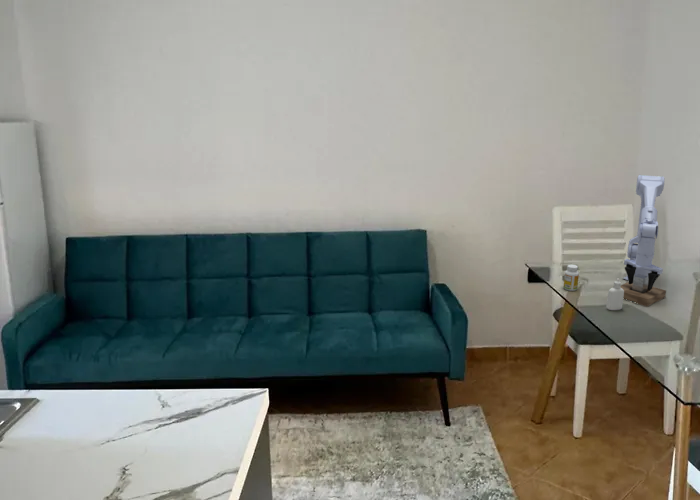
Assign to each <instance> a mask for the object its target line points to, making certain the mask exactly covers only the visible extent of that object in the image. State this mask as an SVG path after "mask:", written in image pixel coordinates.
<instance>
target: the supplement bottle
mask: <svg viewBox="0 0 700 500" xmlns="http://www.w3.org/2000/svg"><path fill="white" fill-rule="evenodd" d="M578 269H579V267H578V265H576V264H567V266H566V270H565V271H564V279H563V289H565V291H571V292H572V291H573V292H575V291H577V290H578V287H579V278H580V273H579V271H578Z"/></svg>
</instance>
